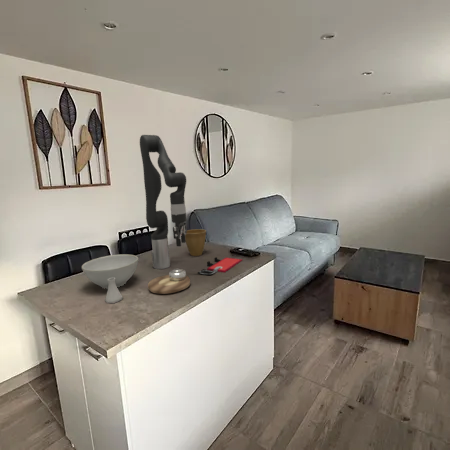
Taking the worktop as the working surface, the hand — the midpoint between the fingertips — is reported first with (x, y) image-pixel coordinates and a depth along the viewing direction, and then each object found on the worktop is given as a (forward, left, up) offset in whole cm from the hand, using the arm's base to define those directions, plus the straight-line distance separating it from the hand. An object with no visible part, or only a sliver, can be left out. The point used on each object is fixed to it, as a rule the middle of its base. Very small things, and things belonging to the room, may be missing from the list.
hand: (181, 244), depth 151 cm
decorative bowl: (-34, -11, -18) cm, 40 cm away
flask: (-23, -29, -18) cm, 41 cm away
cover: (0, -9, -15) cm, 18 cm away
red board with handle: (+16, +17, -19) cm, 30 cm away
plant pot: (-5, +42, -18) cm, 46 cm away
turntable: (-3, -13, -18) cm, 22 cm away
